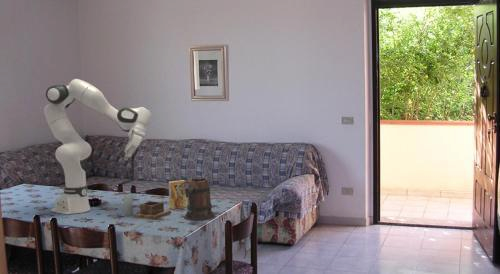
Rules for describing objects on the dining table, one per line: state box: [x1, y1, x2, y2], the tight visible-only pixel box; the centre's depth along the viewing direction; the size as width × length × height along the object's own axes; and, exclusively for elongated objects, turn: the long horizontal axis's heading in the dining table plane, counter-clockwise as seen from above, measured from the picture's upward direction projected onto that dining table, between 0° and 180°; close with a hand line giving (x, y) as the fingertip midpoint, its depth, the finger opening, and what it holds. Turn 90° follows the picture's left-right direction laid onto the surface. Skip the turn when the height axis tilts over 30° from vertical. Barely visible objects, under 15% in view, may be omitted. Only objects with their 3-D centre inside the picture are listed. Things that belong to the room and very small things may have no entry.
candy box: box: [168, 179, 187, 210], centre depth 314 cm, size 9×4×15 cm, turn 119°
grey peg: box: [123, 194, 134, 217], centre depth 299 cm, size 4×4×11 cm
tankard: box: [183, 177, 217, 222], centre depth 288 cm, size 24×17×20 cm
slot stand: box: [133, 200, 171, 220], centre depth 298 cm, size 14×14×6 cm
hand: (127, 158), depth 300 cm, fingers open, 8 cm apart
